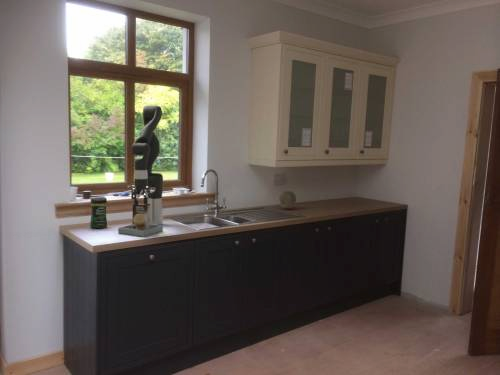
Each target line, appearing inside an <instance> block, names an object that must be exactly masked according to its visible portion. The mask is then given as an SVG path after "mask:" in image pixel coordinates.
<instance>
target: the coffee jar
mask: <svg viewBox="0 0 500 375" xmlns="http://www.w3.org/2000/svg"><path fill="white" fill-rule="evenodd" d="M107 200H108V199H107V197H99V196H96V197H95V196H94V197H91V199H90V202H89V203H90V206H91V207H90V208H91V216H90V228H91V229H92V228H93V229H103V228H106V227H107V226H108V220H107V219H108V218H107V206H108V201H107Z"/></svg>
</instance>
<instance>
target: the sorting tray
mask: <svg viewBox="0 0 500 375" xmlns="http://www.w3.org/2000/svg"><path fill="white" fill-rule="evenodd" d="M163 228H164V225H162V224H161V225H153V224H150V229H147V230H144V231H143V230H135V229H132V224H128V225H124V226H120V227H118V228H117V230H118V231H117V232H118V234H119V235H124V236H125V235H126V236H131V237H132V236H133V237H140V238H146V237H149V236H152V235H157V234H159V233H162V232H164V231H163V230H164V229H163Z"/></svg>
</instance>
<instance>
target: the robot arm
mask: <svg viewBox="0 0 500 375" xmlns="http://www.w3.org/2000/svg"><path fill="white" fill-rule="evenodd" d="M162 117H163V110H162V107H161V106H160V105H145V106H143V109H142V120H143V127H142V128H141V129H140V132H139V135H138V137H137V138H136V139H135V141H134V142H133V143H132V144H131V147H130V151H131V154H133V155H134V156H142V157H141V158H140V159H136V160H135V161H134V173H133V175H134V176H133V179H134V180H133V182H134V183H133V185H134V187H135V188H132V189H131V192H130V193H131V200H133V204H134V206H136V207H137V206H138V203H139V198H140V197H141V196H142V197H143V204H150V224H153V225H161V226H162V225H163V222H164V221H163V212H164V211H163V191H164V190H163V188H164V187H163V186H164V185H163V184H164V176H163V174H162V173H159V172H153V165H154V163H155V162H156V160H157V158H158V157H159V155H160V151H161V150H160V149H161V148H160V146H161V145H160V141H159V138H158V137H157V135H156V133H155V130H156V128H157V127H158V125H159V123H160V122H161V120H162ZM151 188H155V190H154V191H152V192H151Z"/></svg>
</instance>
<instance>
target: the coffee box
mask: <svg viewBox="0 0 500 375" xmlns="http://www.w3.org/2000/svg"><path fill="white" fill-rule="evenodd" d="M131 220H132V229H135V230H143V231H144V230H147V229H150V204H144V203H140V202H138V206H137V207H136V206H134V203H133V204H132V219H131Z"/></svg>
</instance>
